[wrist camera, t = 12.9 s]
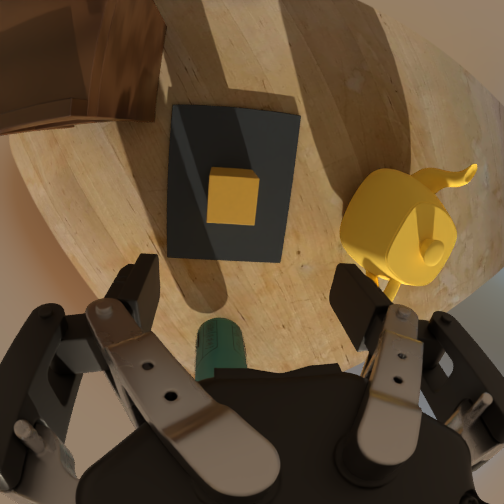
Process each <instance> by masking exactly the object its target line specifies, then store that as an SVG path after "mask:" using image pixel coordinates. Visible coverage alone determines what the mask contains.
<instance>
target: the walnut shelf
mask: <svg viewBox="0 0 504 504" xmlns="http://www.w3.org/2000/svg"><path fill="white" fill-rule="evenodd" d="M166 30H167V26H166V24H165V22H164V20H163V18H162V16H161V14H160V12H159V11H158V9H157V7H156V5H155V3H154V1H153V0H0V136H2V135H8V134H15V133H23V132H31V131H40V130H50V129H63V128H72V127H74V125H77V124H87V123H97V122H110V121H128V122H141V123H142V122H154V121H155V110H156V100H157V90H158V82H159V74H160V66H161V60H162V53H163V47H164V41H165V35H166Z"/></svg>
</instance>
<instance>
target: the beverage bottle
mask: <svg viewBox="0 0 504 504" xmlns="http://www.w3.org/2000/svg"><path fill="white" fill-rule="evenodd" d="M196 336H197V340H196V344H197V346H196V344H195V347H196V361H195V362H196V365H194V367H195V366H196V367H195V368H196V370H195V371H196V372H195V374H194V375H195V380H196V382H197V381H200V380H203V379H207V378H211V377H214V368H247V365H248V364H246V357H245V353H246V350H245V351H244V347H245V344H243V343H244V341H243V338H244V336H243V337H242V331H241V330H240V327H239V326H238V325H237V324H236V323H234V322H233V321H231V320H229V319H225V318H214V319H210V320H208V321H206V322H205V323H203V324H202V325H201V327H200V328H199V330H198V333H197V335H196Z"/></svg>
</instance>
